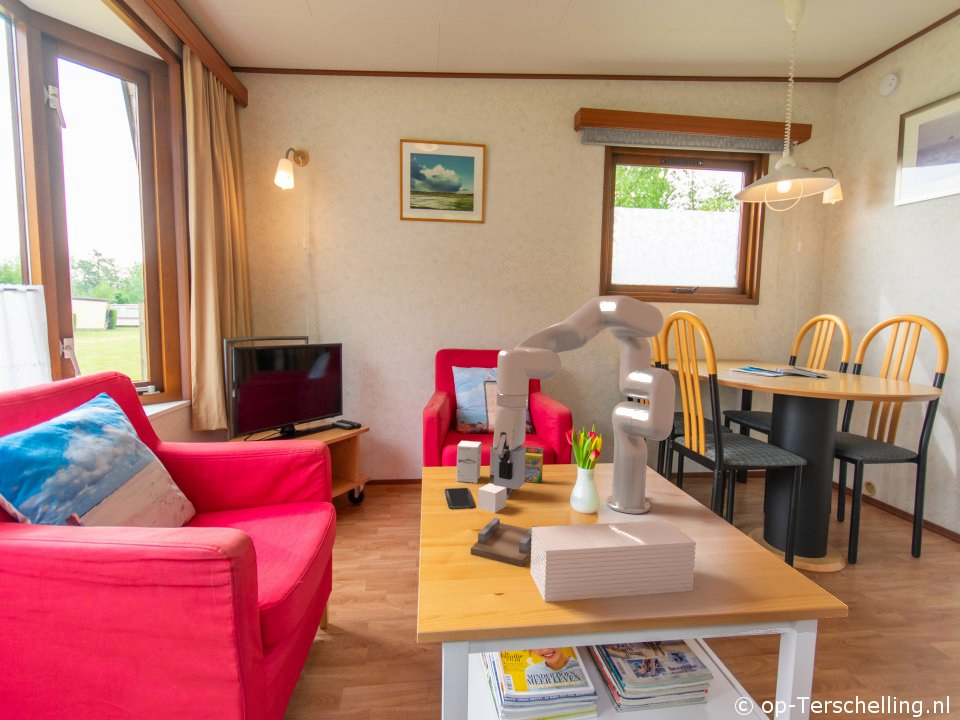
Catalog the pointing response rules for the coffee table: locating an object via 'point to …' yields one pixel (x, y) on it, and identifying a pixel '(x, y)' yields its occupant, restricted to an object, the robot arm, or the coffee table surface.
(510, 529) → the display stand
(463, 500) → the phone
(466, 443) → the supplement box
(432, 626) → the coffee table surface
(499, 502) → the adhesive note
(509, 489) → the coffee box
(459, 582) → the coffee table surface
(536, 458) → the crayon box
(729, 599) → the coffee table surface
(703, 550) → the coffee table surface
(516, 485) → the slate block
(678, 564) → the stack of papers
